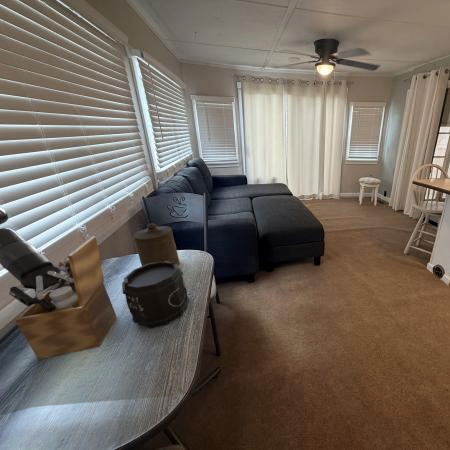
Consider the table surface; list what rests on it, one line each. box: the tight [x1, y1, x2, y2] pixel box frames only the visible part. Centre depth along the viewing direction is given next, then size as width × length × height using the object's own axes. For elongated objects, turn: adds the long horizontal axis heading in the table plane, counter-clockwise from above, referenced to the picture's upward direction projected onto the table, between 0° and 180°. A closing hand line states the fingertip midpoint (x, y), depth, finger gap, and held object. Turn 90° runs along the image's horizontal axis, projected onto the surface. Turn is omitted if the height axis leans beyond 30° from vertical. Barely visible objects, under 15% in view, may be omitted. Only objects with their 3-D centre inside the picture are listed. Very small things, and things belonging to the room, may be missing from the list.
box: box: [14, 282, 118, 361], centre depth 71 cm, size 15×13×14 cm
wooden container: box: [133, 222, 181, 266], centre depth 107 cm, size 15×15×22 cm
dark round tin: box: [121, 261, 190, 329], centre depth 81 cm, size 18×18×16 cm
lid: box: [67, 235, 105, 307], centre depth 68 cm, size 16×13×1 cm
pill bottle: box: [49, 285, 80, 312], centre depth 70 cm, size 6×6×12 cm
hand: (68, 301), depth 69 cm, fingers closed on pill bottle, 6 cm apart
